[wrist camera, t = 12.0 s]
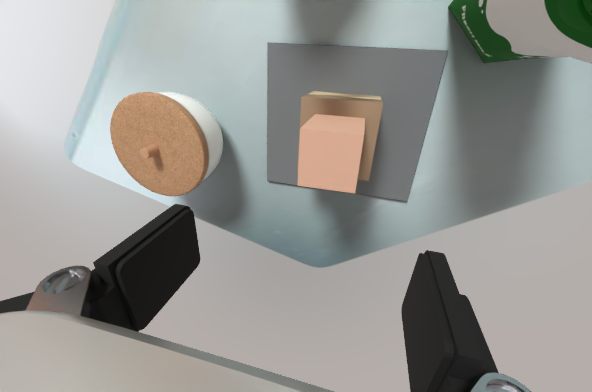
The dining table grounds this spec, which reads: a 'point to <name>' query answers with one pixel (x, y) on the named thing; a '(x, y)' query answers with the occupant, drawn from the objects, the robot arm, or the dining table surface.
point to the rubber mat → (361, 81)
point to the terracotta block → (330, 152)
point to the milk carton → (526, 28)
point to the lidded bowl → (166, 141)
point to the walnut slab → (347, 108)
